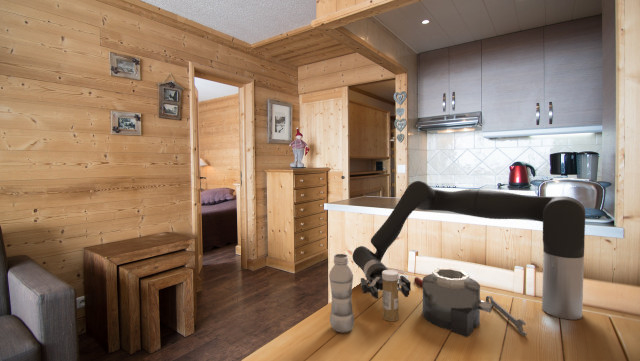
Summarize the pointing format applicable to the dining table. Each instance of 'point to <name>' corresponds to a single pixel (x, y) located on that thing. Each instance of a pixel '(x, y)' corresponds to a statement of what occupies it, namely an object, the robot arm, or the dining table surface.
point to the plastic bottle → (341, 295)
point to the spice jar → (390, 295)
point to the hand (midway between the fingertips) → (392, 294)
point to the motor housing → (453, 301)
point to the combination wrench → (508, 316)
